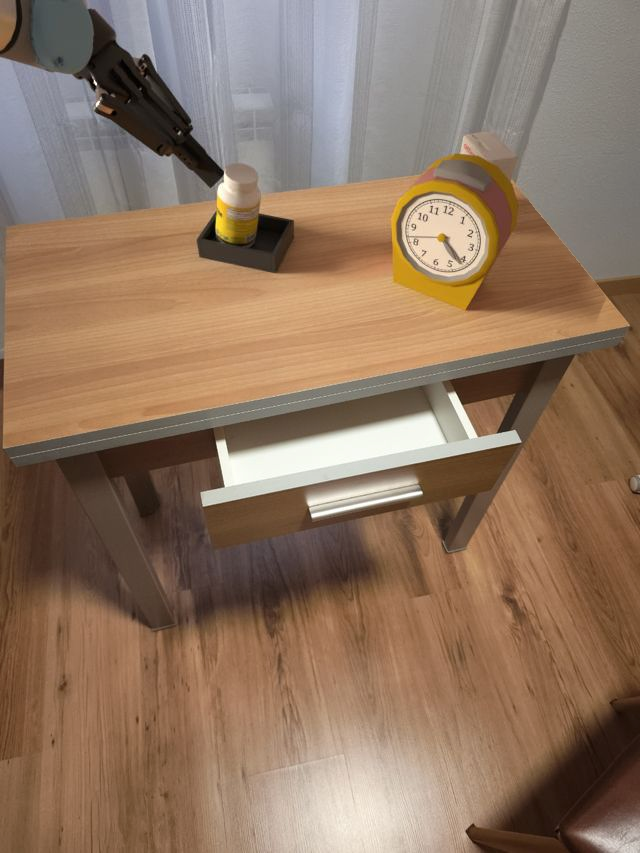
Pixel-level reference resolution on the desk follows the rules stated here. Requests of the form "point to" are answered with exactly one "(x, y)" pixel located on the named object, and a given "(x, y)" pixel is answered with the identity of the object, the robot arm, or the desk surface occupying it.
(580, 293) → the desk surface
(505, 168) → the ink box
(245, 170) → the pill bottle
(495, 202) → the alarm clock
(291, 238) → the bin
